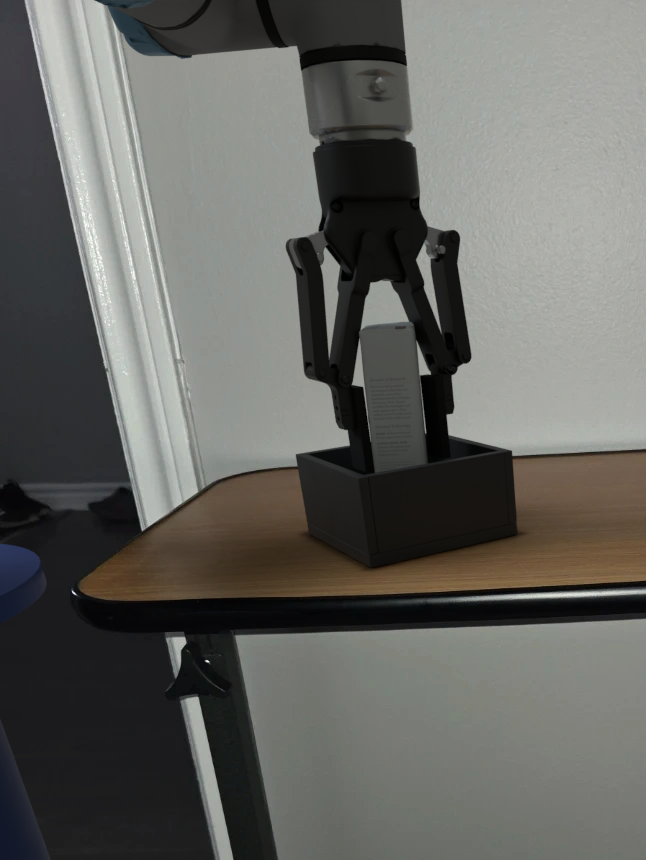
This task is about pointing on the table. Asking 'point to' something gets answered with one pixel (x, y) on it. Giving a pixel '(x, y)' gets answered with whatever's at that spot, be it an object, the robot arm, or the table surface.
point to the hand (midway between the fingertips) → (402, 461)
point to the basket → (409, 502)
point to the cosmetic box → (393, 395)
